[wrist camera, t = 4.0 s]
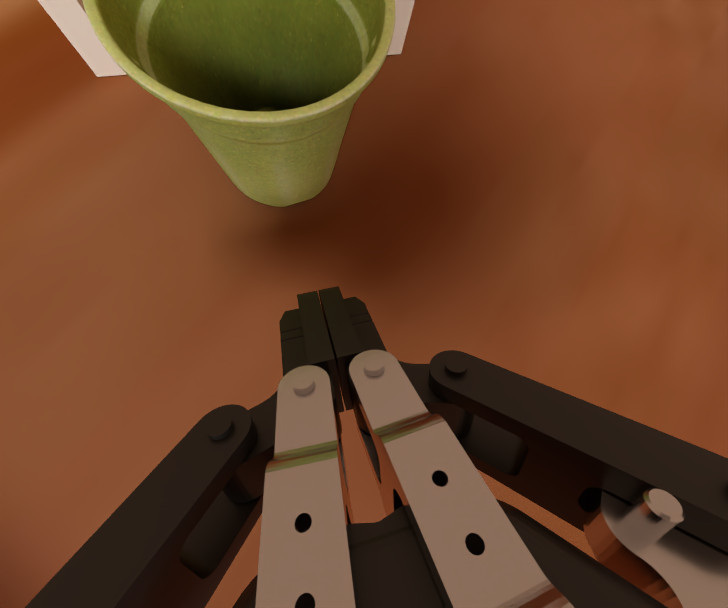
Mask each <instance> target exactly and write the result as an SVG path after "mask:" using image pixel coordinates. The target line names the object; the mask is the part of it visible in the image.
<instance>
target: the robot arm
mask: <svg viewBox="0 0 728 608" xmlns="http://www.w3.org/2000/svg"><path fill="white" fill-rule="evenodd" d="M319 296H320V300H319ZM319 296H318V293H317V291H313V292H308V293H303V294H298V295H297V298H298V304H299V309H295V310H290V311H285V312H284V314H283V316H282V318H281V320H280V333H281V334H280V335H281V350H282V365H283V378H282V379H281V381H280V383H279V386H278V390H277V391H276V392H275V394H273V395H272V396H271V397H270V398H269V399H267V400H266V401H264V402H263V403H261V404H259V405H257V406H255V407H253V408H252V409H250V410H247V409H245V408H244V407H242V406H239V405H225V406H221V407H218V408H216V409H214V410H212V411H211V412H209V413H208V414H206V415H205V416H204V417H203V418H202V419H201V420H200V421H199V422H198V423H197V424H196V425H195V426H194V427H193V428H192V429H191V430H190V431H189V432H188V433H187V435H186V436H185V437H184V438H183V439H182V440H181V441H180V442H179V443H178V444H177V445H176V446H175V447H174V448H173V450H172V451H171V452H170V453H169V454H168V455H167V456H166V457H165V458H164V459H163V460H162V461H161V462H160V463H159V465H158V466H157V467H156V468H155V469H154V470H153V471H152V472H151V473H150V474H149V475H148V476H147V477H146V478H145V480H144V481H143V482H142V483H141V484H140V485H139V486H138V487H137V488H136V489H135V490H134V491H133V492H132V493H131V495H130V496H129V497H128V498H127V499H126V500H125V501H124V502H123V503H122V504H121V505H120V506H119V507H118V508H117V509H116V511H115V512H114V513H113V514H112V515H111V516H110V517H109V518H108V519H107V520H106V521H105V522H104V523H103V524H102V526H101V527H100V528H99V529H98V530H97V531H96V532H95V533H94V534H93V535H92V536H91V537H90V538H89V539H88V541H87V542H86V543H85V544H84V545H83V546H82V547H81V548H80V549H79V550H78V551H77V552H76V553H75V554H74V556H73V557H72V558H71V559H70V560H69V561H68V562H67V563H66V564H65V565H64V566H63V567H62V568H61V569H60V571H59V572H58V573H57V574H56V575H55V576H54V577H53V578H52V579H51V580H50V581H49V582H48V583H47V584H46V585H45V587H44V588H43V589H42V590H41V591H40V592H39V593H38V594H37V595H36V596H35V597H34V598H33V599H32V600H31V602H30V603H29V604H28V605H27V606H26V607H25V608H205V606H206V605H207V603H208V601H209V600H210V598H211V596H212V595H213V593H214V591H215V590H216V588H217V586H218V585H219V583H220V581H221V580H222V578H223V576H224V575H225V573H226V571H227V570H228V568H229V566H230V565H231V563H232V562H233V560H234V558H235V557H236V555H237V553H238V552H239V550H240V548H241V547H242V545H243V543H244V542H245V540H246V538H247V537H248V535H249V533H250V532H251V530H252V528H253V527H254V525H255V523H256V522H257V520H258V518H259V517H260V515H261V513H262V524H261V537H260V551H259V565H258V575H257V576H256V577H255V578H254V579H253V580H252V581H251V582H250V584H249V585H248V586H247V587H246V589H245V590H244V591H243V593H242V594H241V595H240V597H239V598H238V600H237V601H236V603H235V605H234V606H233V608H728V458H725V457H723V456H720V455H718V454H715V453H713V452H711V451H708V450H706V449H703V448H701V447H698V446H696V445H693V444H691V443H688V442H686V441H683V440H681V439H678V438H676V437H673V436H671V435H668V434H666V433H663V432H661V431H658V430H656V429H653V428H651V427H648V426H646V425H643V424H641V423H638V422H636V421H633V420H631V419H628V418H626V417H623V416H621V415H618V414H616V413H613V412H611V411H609V410H606V409H604V408H601V407H599V406H596V405H594V404H591V403H589V402H586V401H584V400H581V399H579V398H576V397H574V396H571V395H569V394H566V393H564V392H561V391H559V390H556V389H554V388H551V387H549V386H546V385H544V384H541V383H539V382H536V381H534V380H531V379H529V378H526V377H524V376H521V375H519V374H516V373H514V372H511V371H509V370H507V369H504V368H502V367H499V366H497V365H494V364H492V363H489V362H487V361H484V360H482V359H479V358H477V357H474V356H472V355H469V354H467V353H464V352H460V351H453V350H452V351H444V352H440V353H438V354H437V355H435V356H434V357H433V358H432V360H431V361H430V364H409V363H404V362H401V361H398V360H397V359H396V358H395V357H394V356H393V355H392V354H390V353H388V352H387V351H386V349H385V347H384V344H383V342H382V340H381V338H380V336H379V334H378V332H377V329H376V327H375V325H374V323H373V322H372V319H371V317H370V314H369V312H368V310H367V308H366V306H365V304H364V303H363V302H362V301H360V300H359V299H358V298H356V297H352V298H347V299H343V297H342V295H341V292H340V289H339V287H333V288H328V289H323V290H319ZM320 301H321V304H320ZM321 307H322V308H321ZM339 384H340V385H339ZM340 388H341V390H340ZM341 392H342V396H343V400H344V403H345V407H346V410H350V409H353V410H354V413H355V417H356V421H357V428H358V433H359V435H360V438H361V441H362V444H363V446H364V449H365V452H366V454H367V457H368V460H369V463H370V465H371V468H372V471H373V474H374V476H375V479H376V482H377V485H378V487H379V490H380V494H381V497H382V501H383V505H384V509H385V512H386V516H387V517H385V518H384V519H382V520H381V521H379V522H376V523H356V524H354V520H353V514H352V508H351V502H350V495H349V488H348V481H347V474H346V466H345V459H344V452H343V444H342V437H341V433H342V426H341V421H340V416H339V413H340V412H343V411H344V407H343V402H342V396H341ZM476 468H477V469H478V470H480V471H482V472H483V473H485V474H487V475H488V476H490V477H492V478H493V479H495V480H497V481H499V482H500V483H502V484H504V485H505V486H507V487H509V488H510V489H512V490H514V491H515V492H517V493H519V494H521V495H522V496H524V497H526V498H527V499H529V500H531V501H532V502H534V503H536V504H537V505H539V506H541V507H543V508H544V509H546V510H548V511H549V512H551V513H553V514H554V515H556V516H558V517H559V518H561V519H563V520H565V521H566V522H568V523H570V524H571V525H573V526H575V527H576V528H578V529H580V530H581V531H583V532H585V536H586V539H587V541H588V543H589V545H590V547H591V549H592V550H593V553H594V556H595V558H596V559H597V560H598V561H596V560H595V559H593V558H592V557H590V556H589V555H587V554H586V553H584V552H583V551H581V550H580V549H578V548H577V547H575V546H574V545H572V544H571V543H569V542H567V541H566V540H564V539H563V538H561V537H560V536H558V535H557V534H555V533H554V532H552V531H551V530H549V529H548V528H546V527H545V526H543V525H542V524H540V523H539V522H537V521H535V520H534V519H532V518H531V517H529V516H528V515H526V514H525V513H523V512H522V511H520V510H518V509H517V508H515V507H513V506H511V505H509V504H507V503H505V502H503V501H500V500H497V499H495V497H494V496H493V494H492V493H491V491H490V489H489V488H488V486H487V485H486V483H485V482H484V480H483V479H482V477H481V475H480V474H479V472H478V471H477V469H476Z"/></svg>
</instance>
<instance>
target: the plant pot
mask: <svg viewBox="0 0 728 608" xmlns="http://www.w3.org/2000/svg"><path fill="white" fill-rule="evenodd" d="M83 4H84V8H85V12H86V14H87V17H88V19H89V21H90V24H91V26H92V28H93V30H94V32H95V34H96V36H97V37H98V39H99V40H100V42H101V43H102V45H103V46H104V48H105V49H106V51H107V52H108V53H109V55H110V56H111V57H112V58H113V59H114V61H115V62H116V63H117V64H118V65H119V67H120V68H121V69H122V70H123V71H124V72H125V73H126V74H127V75H128V76H129V77H130V78H132V79H133V80H134V81H135V82H136V83H138V84H139V85H140V86H141V87H142V88H144V89H145V90H147V91H148V92H150V93H151V94H152V95H154V96H155V97H157V98H159V99H161V100H162V101H164V102H165V103H167V104H168V105H169V106H170V107H171V108H172V109H173V110H175V111H176V112H177V113H178V114H180V115H181V116H182V117H183V118H184V119H185V121H186V122H187V123H188V125H189V126H190V127H191V128H192V130H193V131H194V132H195V134H196V135H197V136H198V138H199V139H200V140H201V141H202V143H203V144H204V145H205V147H206V148H207V149H208V151H209V152H210V153H211V154H212V156H213V157H214V158H215V160H216V161H217V162H218V163H219V165H220V166H221V167H222V169H223V170H224V171H225V173H226V174H227V175H228V177H229V178H230V179H231V180H232V182H233V183H234V184H235V185H236V186H237V188H238V189H239V190H240V191H242V192H243V193H244V194H245V195H247V196H248V197H250V198H251V199H253V200H255V201H258V202H260V203H263V204H267V205H271V206H278V207H284V206H289V205H292V204H295V203H298V202H302V201H305V200H309V199H312V198H313V197H315V196H316V195H318V194H319V193H320V192H321V191H322V190H323V189H324V188H325V186H326V185H327V183H328V182H329V180H330V177H331V175H332V172H333V169H334V166H335V163H336V160H337V156H338V153H339V149H340V146H341V143H342V139H343V136H344V133H345V130H346V127H347V124H348V121H349V118H350V114H351V111H352V108H353V105H354V103H355V102H356V101H357V99H358V98H359V96H360V94H361V93H362V91H363V90H364V89H365V88H366V87H367V86H368V85H369V84H370V83H371V82H372V80H373V79H374V78H375V76H376V75H377V74H378V72H379V71H380V69H381V67H382V65H383V63H384V61H385V59H386V56H387V54H388V51H389V48H390V44H391V41H392V37H393V33H394V27H395V12H396V10H395V0H83Z"/></svg>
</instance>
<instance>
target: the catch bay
mask: <svg viewBox="0 0 728 608" xmlns="http://www.w3.org/2000/svg"><path fill="white" fill-rule="evenodd" d="M38 1H39V3H40V4H41V5H42V6H43V8H44V9H45V10H46V12H47V13H48V14H49V15H50V17H51V18H52V19H53V20H54V22H55V23H56V24H57V26H58V27H59V28H60V29H61V31H62V32H63V33H64V35H65V36H66V37H67V38H68V40H69V41H70V42H71V43H72V45H73V46H74V47H75V49H76V50H77V51H78V52H79V54H80V55H81V56H82V58H83V59H84V60H85V61H86V63H87V64H88V65H89V67H90V68H91V69H92V70H93V72H94V73H95V74H96V75H97V77H101V76H114V75H127V74H126V73H125V72H124V71H123V70H122V69H121V68H120V67H119V65H118V64H117V63H116V62H115V61H114V59H113V58H112V57H111V56H110V55H109V53H108V52H107V51H106V49H105V48H104V46H103V45H102V43H101V42H100V40H99V39H98V37H97V36H96V34H95V32H94V30H93V28H92V26H91V24H90V21H89V19H88V17H87V14H86V12H85V8H84V4H83V0H38ZM414 2H415V0H395V10H396V12H395V27H394V33H393V37H392V41H391V44H390V48H389V51H388V54H387V55H395V54H401V52H402V48H403V44H404V41H405V37H406V33H407V29H408V25H409V21H410V17H411V14H412V10H413V6H414Z"/></svg>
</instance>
